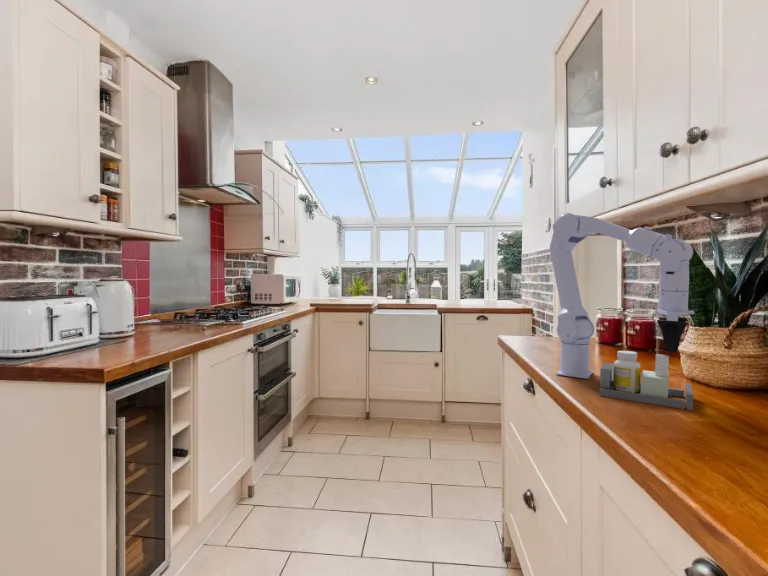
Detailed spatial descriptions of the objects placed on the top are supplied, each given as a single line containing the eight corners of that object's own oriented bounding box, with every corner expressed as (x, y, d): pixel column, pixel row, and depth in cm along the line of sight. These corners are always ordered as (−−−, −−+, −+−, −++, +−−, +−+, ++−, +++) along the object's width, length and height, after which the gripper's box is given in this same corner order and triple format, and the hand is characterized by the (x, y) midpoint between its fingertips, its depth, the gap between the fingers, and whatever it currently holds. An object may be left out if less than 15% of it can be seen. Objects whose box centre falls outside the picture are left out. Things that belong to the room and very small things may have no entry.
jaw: (642, 391, 98) (643, 351, 98) (668, 394, 96) (669, 353, 95) (640, 398, 93) (641, 355, 92) (667, 402, 90) (669, 358, 90)
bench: (605, 385, 105) (605, 361, 104) (690, 397, 95) (691, 371, 95) (598, 395, 96) (599, 369, 95) (692, 410, 86) (693, 381, 86)
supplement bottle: (632, 391, 100) (634, 350, 99) (644, 397, 94) (645, 354, 94) (609, 390, 100) (610, 349, 100) (619, 396, 95) (620, 354, 95)
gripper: (696, 292, 89) (693, 356, 89) (693, 290, 101) (691, 346, 101) (656, 291, 93) (654, 352, 93) (658, 289, 105) (657, 343, 105)
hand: (671, 349), depth 98 cm, fingers open, 7 cm apart
